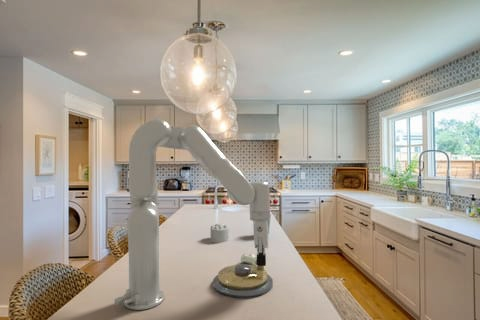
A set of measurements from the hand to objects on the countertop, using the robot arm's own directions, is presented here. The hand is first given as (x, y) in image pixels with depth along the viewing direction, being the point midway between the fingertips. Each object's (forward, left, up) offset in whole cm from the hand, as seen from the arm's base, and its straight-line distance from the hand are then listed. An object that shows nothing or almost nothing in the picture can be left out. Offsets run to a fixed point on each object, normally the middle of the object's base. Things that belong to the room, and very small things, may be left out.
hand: (261, 264), depth 108 cm
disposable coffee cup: (+60, +37, -8) cm, 71 cm away
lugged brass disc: (-4, +6, -6) cm, 9 cm away
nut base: (-4, +6, -7) cm, 10 cm away
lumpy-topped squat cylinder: (+39, +53, -8) cm, 66 cm away
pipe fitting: (+17, +16, -8) cm, 24 cm away
